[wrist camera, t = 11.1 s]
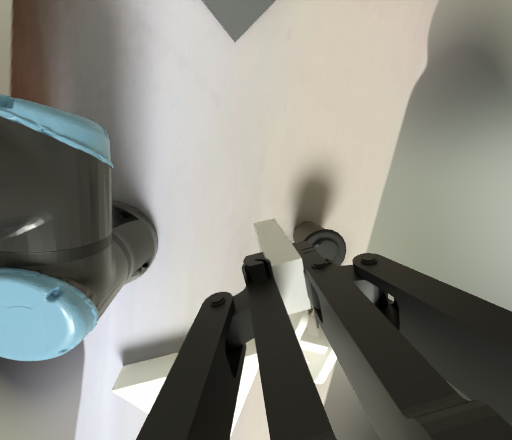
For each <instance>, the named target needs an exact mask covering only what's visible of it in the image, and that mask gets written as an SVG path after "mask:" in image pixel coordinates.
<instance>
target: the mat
mask: <svg viewBox="0 0 512 440" xmlns="http://www.w3.org/2000/svg"><path fill="white" fill-rule="evenodd" d="M202 1H203V2H204V4H205V5H206V6H207V7H208V9H209V10H210V11H211V12H212V14H213V15H214V16H215V18H216V19H217V20H218V21H219V23H220V24H221V25H222V26H223V28H224V29H225V30H226V31H227V33H228V34H229V35H230V37H231V38H232V39H233V40H234V42H236V41H237V40H238V39H239V38H240V37H241V36H242V35H243V34H244V33H245V32H246V30H247V29H248V28H249V27H250V26H251V25H252V24H253V23H254V22H255V21H256V20H257V19H258V18H259V17H260V16H261V15H262V14H263V13H264V12H265V11H266V10H267V9H268V8H269V7H270V6H271V5H272V4H273V2H274V1H275V0H202Z"/></svg>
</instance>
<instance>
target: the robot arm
mask: <svg viewBox="0 0 512 440" xmlns="http://www.w3.org/2000/svg"><path fill="white" fill-rule="evenodd" d="M111 168H113V163H112V162H111V153H110V140H109V136H108V134H107V132H106V131H105V129H104V128H103V127H102V126H100V125H99V124H98V123H96V122H94V121H92V120H90V119H87V118H84V117H82V116H79V115H76V114H73V113H69V112H66V111H63V110H60V109H56V108H53V107H49V106H46V105H42V104H39V103H35V102H31V101H27V100H23V99H19V98H11V97H9V96H5V95H0V357H4V358H9V359H13V360H21V361H38V360H46V359H50V358H54V357H57V356H60V355H62V354H64V353H66V352H68V351H69V350H71V349H72V348H74V347H75V346H76V345H78V344H79V343H80V342H81V340H82V339H83V338H84V337H85V336H86V335H87V334H88V333H89V332H90V331H92V330H93V329H94V327H95V326H96V324H97V322H98V320H99V318H100V317H101V315H102V314H103V313H104V311H105V310H106V309H107V307H108V306H109V304H110V303H111V302H112V300H113V299H114V298H115V296H116V295H117V293H118V292H119V291H120V289H121V288H122V287H123V285H125V284H127V283H129V282H131V281H133V280H135V279H137V278H138V277H140V276H141V275H142V274H144V273H145V272H146V271H147V269H148V268H149V267H150V265H151V264H152V262H153V260H154V258H155V256H156V253H157V248H158V240H157V235H156V232H155V229H154V227H153V225H152V224H151V222H150V221H149V220H148V218H147V217H146V216H145V215H144V214H143V213H141V212H140V211H139V210H137V209H136V208H134V207H132V206H130V205H127V204H125V203H121V202H116V201H112V179H111ZM254 228H255V232H256V236H257V240H258V245H259V249H260V253H257V254H253V255H249V256H246V257H245V259H244V261H243V262H244V264H243V265H242V272H243V275H244V279H245V283H246V288H245V289H244V290H243V291H242V292H240V293H239V294H237V295H235V296H232V295H231V294H230V293H228V292H219V293H215V294H213V295H211V296H209V297H208V298H207V299H206V300H205V301H204V302H203V304H202V306H201V308H200V310H199V312H198V314H197V316H196V318H195V320H194V322H193V324H192V326H191V328H190V330H189V333H188V335H187V337H186V339H185V341H184V343H183V345H182V347H181V349H180V351H179V353H178V355H177V357H176V359H175V361H174V363H173V365H172V367H171V369H170V371H169V373H168V375H167V377H166V379H165V381H164V384H163V386H162V388H161V390H160V392H159V394H158V396H157V398H156V400H155V402H154V404H153V406H152V408H151V410H150V412H149V414H148V416H147V418H146V420H145V422H144V424H143V426H142V428H141V430H140V432H139V435H138V437H137V439H136V440H230V435H231V429H232V424H233V419H234V413H235V408H236V402H237V397H238V392H239V386H240V381H241V375H242V370H243V365H244V359H245V354H246V349H247V347H246V343H247V342H248V341H250V340H252V339H255V345H256V351H257V358H258V364H259V370H260V377H261V383H262V389H263V396H264V402H265V408H266V415H267V421H268V427H269V434H270V440H337V439H336V438H335V435H334V433H333V430H332V428H331V425H330V423H329V420H328V417H327V415H326V412H325V410H324V407H323V404H322V402H321V399H320V396H319V394H318V391H317V388H316V386H315V383H314V381H313V378H312V375H311V373H310V370H309V368H308V365H307V362H306V360H305V357H304V354H303V352H302V349H301V347H300V344H299V341H298V339H297V336H296V333H295V331H294V328H293V326H292V323H291V320H290V318H289V314H293V313H297V312H300V311H304V310H308V309H311V305H310V301H311V303H312V305H313V310H314V315H315V321H316V326H317V329H318V328H319V325H320V326H321V328H322V330H323V332H324V334H325V336H326V338H327V340H328V342H329V344H330V345H331V347H332V349H333V351H334V353H335V355H336V357H337V359H338V361H339V362H340V364H341V366H342V368H343V370H344V372H345V374H346V376H347V378H348V380H349V381H350V383H351V385H352V387H353V389H354V391H355V393H356V395H357V396H358V399H359V400H360V402H361V404H362V406H363V408H364V410H365V412H366V414H367V416H368V417H369V419H370V421H371V423H372V425H373V427H374V429H375V431H376V433H377V435H378V436H379V438H380V440H512V312H511V311H509V310H507V309H504V308H502V307H499V306H497V305H495V304H492V303H490V302H488V301H486V300H483V299H481V298H479V297H476V296H474V295H472V294H469V293H467V292H465V291H462V290H460V289H458V288H455V287H453V286H451V285H448V284H446V283H444V282H441V281H439V280H437V279H434V278H432V277H430V276H427V275H425V274H423V273H420V272H418V271H415V270H413V269H411V268H409V267H406V266H404V265H402V264H399V263H397V262H395V261H392V260H390V259H388V258H385V257H383V256H381V255H378V254H371V253H364V254H360V255H357V256H356V257H354V259H353V265H346V266H337V264H336V263H335V262H334V261H332V260H331V259H328V258H323V257H322V256H321V255H320V254H319V253H318V252H317V250H316V249H315V248H314V247H313V246H312V245H311V244H310V243H309V242H306V241H301V242H297V243H293V244H292V243H291V242H290V240H289V239H288V237H287V236H286V235H285V233H284V232H283V230H282V229H281V227H280V226H279V224H278V223H277V221H276V220H275V219H270V220H266V221H262V222H258V223H254ZM388 294H390V295H391V296H393V297H394V302H393V301H391V300H390V299H388ZM446 381H448V382H449V383H450V384H451V385H453V386H454V387H455V388H457V389H458V390H460V391H461V392H462V393H463V394H464V395H466V396H467V397H469V398H470V399H471V400H472V401H467V400H465V399H464V398H462V397H461V396H460V395H459V394H458V393H457V392H456V391H455V390H454V389H453V388H452V387H451V386H450V385H449V384H448V383H447V382H446Z"/></svg>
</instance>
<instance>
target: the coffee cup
mask: <svg viewBox="0 0 512 440" xmlns="http://www.w3.org/2000/svg"><path fill="white" fill-rule="evenodd" d="M293 238H294V241H295V243H297V242H301V241H306V242H309V243H310V244H311V245H312V246H313V247H314V248H315V249H316V250H317V252H318V253H319V254H320V255H321V256H322V257H323V258H328V259H331V260H332V261H334V262H335V263H336V264H337V266H340V265H341V263H342V262H343V260H344V258H345V254H346V244H345V242H344V239H343V237H342V236H341V235H340V234H339V233H337V232H335V231H333V230H328V229H324V228H322V227H320V226H318V225H316V224H314V223H312V222H304V223H301V224H299V225H298V226H297V227H296V228H295V230H294V234H293Z"/></svg>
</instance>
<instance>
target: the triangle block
mask: <svg viewBox="0 0 512 440" xmlns="http://www.w3.org/2000/svg"><path fill="white" fill-rule="evenodd" d="M246 347H247V349H246V354H245V359H244V365H243V370H242V375H241V381H240V386H239V392H238V397H237V402H236V408H235V413H234V419H233V424H232V429H231V434H232V431H233V429H234V426H235V424H236V421H237V419H238V416H239V414H240V411H241V409H242V407H243V404H244V402H245V399H246V397H247V394H248V392H249V389H250V387H251V384H252V382H253V379H254V377H255V375H256V372H257V370H258V367H259V364H258V358H257V351H256V345H255V339H252V340H250V341H248V342H247V343H246ZM178 353H179V352H177V353H173V354H169V355H165V356H161V357H157V358H153V359H149V360H145V361H141V362H137V363H133V364H129V365H125V366H123V367H122V370H121V372H120V374H119V376H118V378H117V380H116V382H115V384H114V387H113V389H112V391H113V392H114V393H116V394H117V395H119V396H121V397H122V398H124V399H125V400H127V401H129V402H130V403H132V404H133V405H135V406H137V407H138V408H140V409H141V410H143V411H145V412H146V413H148V414H149V412H150V410H151V408H152V406H153V404H154V402H155V400H156V398H157V396H158V394H159V392H160V390H161V388H162V386H163V384H164V381H165V379H166V377H167V375H168V373H169V371H170V369H171V367H172V365H173V363H174V361H175V359H176V357H177V355H178ZM230 436H231V435H230Z"/></svg>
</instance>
